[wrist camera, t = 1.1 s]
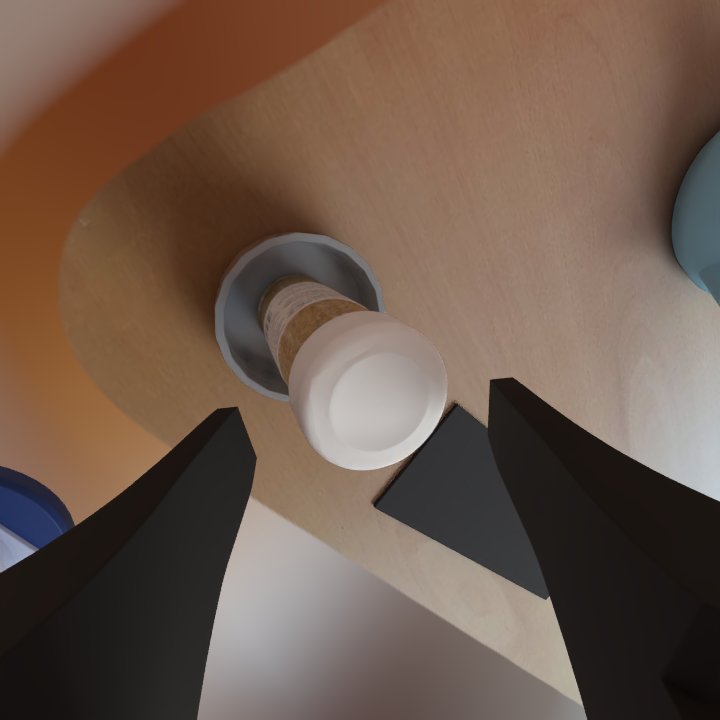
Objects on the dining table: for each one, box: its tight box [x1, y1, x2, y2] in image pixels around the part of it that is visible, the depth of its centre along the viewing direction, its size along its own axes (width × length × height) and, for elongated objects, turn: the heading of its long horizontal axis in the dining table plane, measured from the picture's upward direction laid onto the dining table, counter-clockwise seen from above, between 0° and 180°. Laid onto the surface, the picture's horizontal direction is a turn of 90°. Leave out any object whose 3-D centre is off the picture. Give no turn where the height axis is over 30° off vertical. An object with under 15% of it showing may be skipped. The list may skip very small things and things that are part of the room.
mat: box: [374, 404, 550, 600], centre depth 35 cm, size 26×10×1 cm, turn 49°
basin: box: [215, 232, 386, 402], centre depth 21 cm, size 9×9×4 cm
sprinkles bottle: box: [257, 274, 447, 470], centre depth 17 cm, size 5×5×13 cm
